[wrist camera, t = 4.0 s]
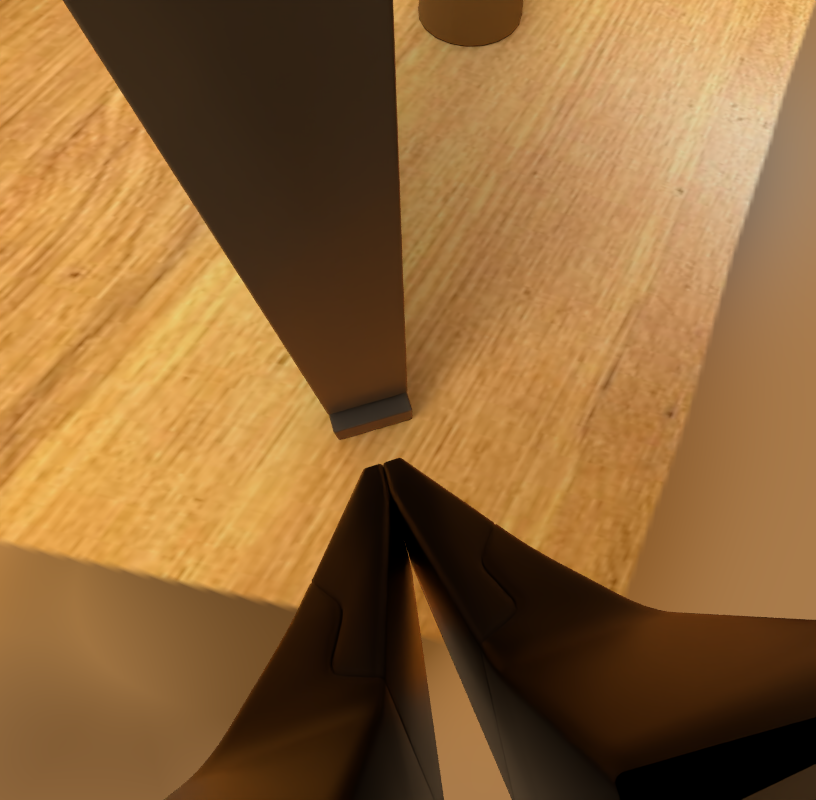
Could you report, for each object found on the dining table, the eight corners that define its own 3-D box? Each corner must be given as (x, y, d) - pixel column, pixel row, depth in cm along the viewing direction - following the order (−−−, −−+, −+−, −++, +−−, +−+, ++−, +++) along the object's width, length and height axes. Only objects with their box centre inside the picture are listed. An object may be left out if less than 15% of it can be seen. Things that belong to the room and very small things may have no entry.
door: (407, 392, 16) (387, -168, 3) (328, 415, 15) (-6, -102, 3) (344, 197, 19) (213, -477, 6) (277, 213, 18) (5, -457, 6)
